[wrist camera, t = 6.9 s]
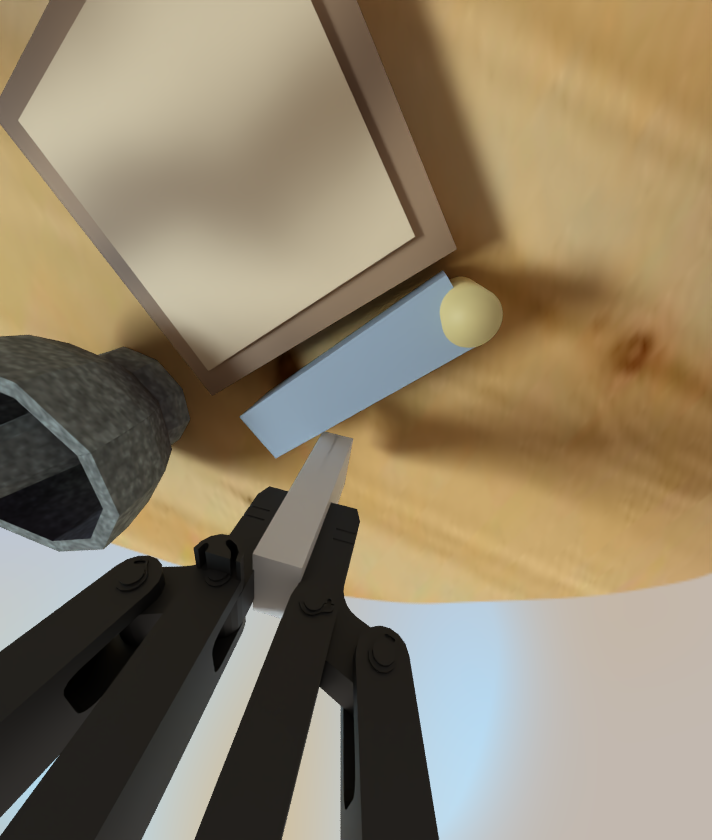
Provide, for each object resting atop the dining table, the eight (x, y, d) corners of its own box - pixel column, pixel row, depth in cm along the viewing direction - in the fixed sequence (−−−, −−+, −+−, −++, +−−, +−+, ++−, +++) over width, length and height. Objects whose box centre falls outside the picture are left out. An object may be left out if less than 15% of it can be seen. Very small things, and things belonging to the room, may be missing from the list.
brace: (461, 256, 12) (478, 258, 8) (491, 314, 12) (519, 341, 9) (267, 392, 16) (218, 435, 12) (297, 429, 17) (259, 480, 13)
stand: (50, 131, 13) (-19, 109, 11) (266, -208, 8) (213, -357, 6) (234, 380, 17) (208, 398, 15) (452, 249, 12) (457, 249, 10)
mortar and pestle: (162, 293, 15) (-415, 385, 5) (244, 453, 19) (23, 698, 9) (18, 347, 18) (-502, 468, 8) (112, 474, 22) (-161, 667, 12)
